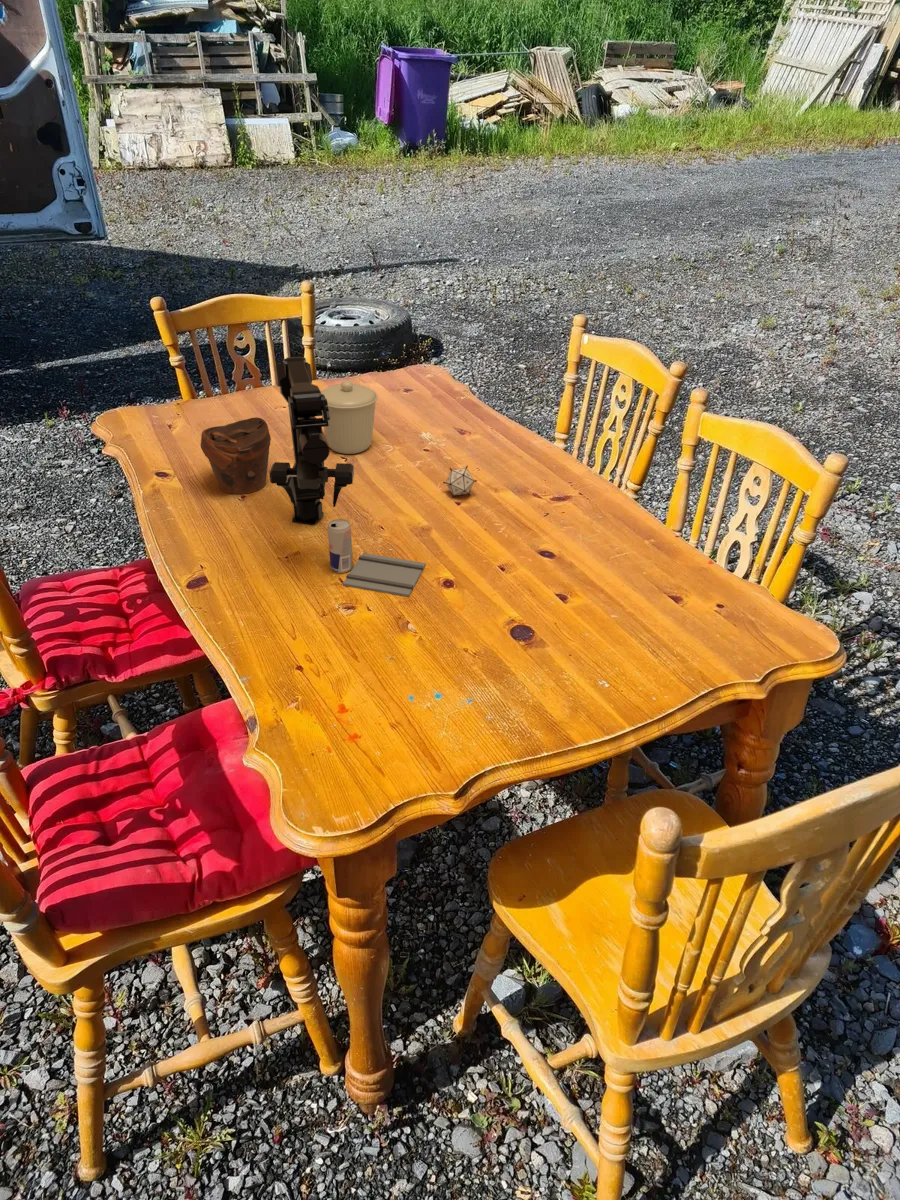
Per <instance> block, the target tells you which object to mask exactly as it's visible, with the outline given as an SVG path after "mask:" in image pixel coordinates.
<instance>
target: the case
mask: <svg viewBox="0 0 900 1200" xmlns="http://www.w3.org/2000/svg"><path fill="white" fill-rule="evenodd" d="M271 439H272V437H271V434H270V430H269V426H268V423H267V422H266V420H265V419H263V418H261V417H258V416H257V417H250V418H247V419H242V420H238V421H235V422H231V423H228V424H225V425H220V426H212V427H208V428H205V429H204V430H202V432H201V436H200V449H201V451H202V453H203V454H204V456H205V457H206V458H207V459H208V461H209V464H210V466H211V469H212V472H213V475H214V476H215V479H216V482H217V486H218V488H219V490H220V491H223V492H224V493H228V494H230V495H231V494H232V495H242V494H243V495H245V494H250V493H253V492H257V491H259V490H261V489H263V488H264V487H265V486H266V483H267V477H268V467H269V455H270V447H271V441H272V440H271Z"/></svg>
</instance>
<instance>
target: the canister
mask: <svg viewBox="0 0 900 1200" xmlns="http://www.w3.org/2000/svg"><path fill="white" fill-rule="evenodd" d="M320 391H321V394H324V396H325V398H326V399H327V403H328V409H329V414H330V420H328V424H329V426H326V427H323V430H324V436H325V439H326V442H327V444H328V447H329V449H331V450H333V451H334V452H336V453H340V454H343V455H344V454H345V455H350V454H352V455H353V454H358V453H362V452H364V451H366V450H368V448H369V447H370V446H371V444H372V441H373V432H374V425H375V424H374V423H375V413H376V411H375V410H376V402H377V400H378V398H379V396H378V394H377V392H376V391H375V390H373V389H371V388H369V387H367V386H365V385H361V384H358V383H357V384H356V383H353V382H352V381H351V380H348V379H347V380H343V381H342V382H340V383H338V384H333V385H330V386H328V387H326V388H324V389H322V390H320ZM322 414H323V411H322ZM321 418H323V420H324V416H323V415H322V416H321Z"/></svg>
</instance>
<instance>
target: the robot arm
mask: <svg viewBox="0 0 900 1200" xmlns="http://www.w3.org/2000/svg"><path fill="white" fill-rule="evenodd" d="M274 374H275V381H276V382H275V383H276V387H279V392H280V395H281V396H282V397H283V398H284V400H285V402H286V403H287V406H288V415H289V422H290V430H291V439H292V440H291V441H292V446H293V447H292V449H293V457H294V464H293V466H292V467H291V464H290V462H279V461H278V462H274V463H273V464H272V465H271V468H270V470H269V482H270V483H271V484H275V485H276V486H277V487H282V489H284V491H285V492H286V494H287V495H288V498H289V500H290V502H291V503H292V505H293V515H294V516H293V518H292V519H291V522H294V523H300V524H306V525H313V526H315V525H317V523H318V522H319V520H321V518H322V517H323V516H324V511H323V503H322V501H321V500H324V497H325V496H326V491H325V490H326V483H328V482H329V478H334V484H333V485H334V486H333V497H332V505H333V508H335V507H336V505H337V501H338V498H339V495H340V493H341V490H342V489H343V488H347V487H348V485H352V484H353V481H354V475H355V467H354V465H353V464H352V463H346V462H343V463H341V462H338V463H336V465H335V468H328V467H327V466H325V461H326V460H327V459H328V457H329V456H330V447H329V445H328V443H327V440H326V436H325V433H323V428H324V427H326V426H329V424H328V420H330V414H329V409H328V403H327V399H326V398H325V396H324V394H321V391H322V390H321V389H320V387H319V385H316V384H313V373H312V366H311V364H310V363H309V362H308V361H307V358H306V357H303V356H292V357H291V356H289V357H286V358H284V359H283V362H281V363H279V364H278V365H276V366H275V373H274ZM322 411H323V414H322ZM322 415H323V416H324V420H323V418H322Z"/></svg>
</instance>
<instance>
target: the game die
mask: <svg viewBox="0 0 900 1200" xmlns="http://www.w3.org/2000/svg"><path fill="white" fill-rule="evenodd" d="M468 467H469V466H468V465H466V466H465V467H464V468H457V469H453V468H451V467H449V470H450V472H449V473H448V475H447V476H448V477H447V478H446V481H443V482H442V484H446V486H447V488H448V489H449V491H450V492H451V493H452V496H451V498H452V499H454V497H455V496H460V495H461V496H462V495H466V494H467V495H468V496H471V494H470V491H471V489H472V487H473V485H474V483H477V482H478V480H477V479H474V478H473V476H472V474H471V473H470V472H469V470H468Z"/></svg>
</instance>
